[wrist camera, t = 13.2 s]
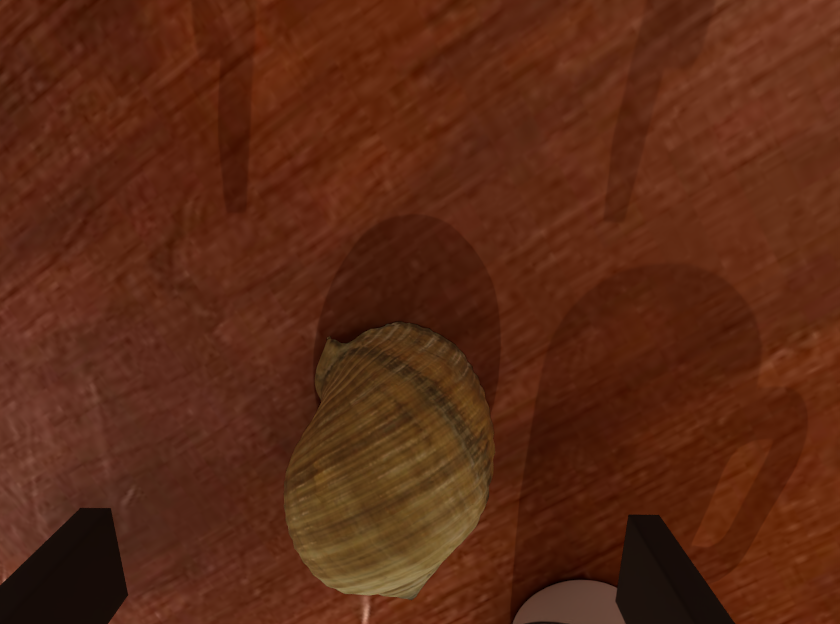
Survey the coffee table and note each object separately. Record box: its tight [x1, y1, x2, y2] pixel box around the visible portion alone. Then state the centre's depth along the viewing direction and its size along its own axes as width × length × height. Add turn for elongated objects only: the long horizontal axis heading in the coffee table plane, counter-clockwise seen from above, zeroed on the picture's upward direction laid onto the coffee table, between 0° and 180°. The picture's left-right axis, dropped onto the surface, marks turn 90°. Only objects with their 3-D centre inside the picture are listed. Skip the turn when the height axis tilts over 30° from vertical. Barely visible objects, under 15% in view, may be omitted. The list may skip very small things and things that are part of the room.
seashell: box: [284, 322, 495, 600], centre depth 17 cm, size 10×7×8 cm
